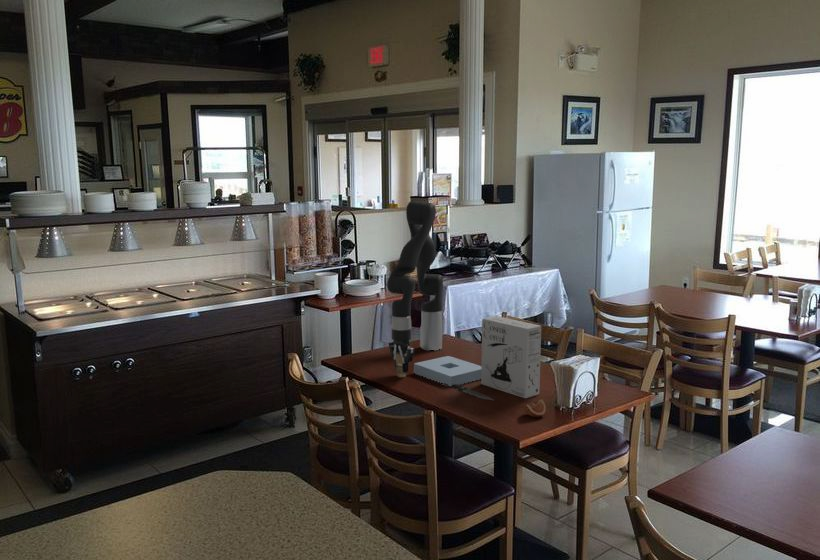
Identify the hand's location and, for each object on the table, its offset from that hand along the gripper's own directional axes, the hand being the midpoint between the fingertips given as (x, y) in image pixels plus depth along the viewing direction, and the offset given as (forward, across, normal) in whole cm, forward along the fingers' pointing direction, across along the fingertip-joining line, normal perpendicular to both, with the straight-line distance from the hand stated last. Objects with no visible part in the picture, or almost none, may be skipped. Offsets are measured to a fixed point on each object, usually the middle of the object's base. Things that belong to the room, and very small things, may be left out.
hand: (401, 370), depth 268 cm
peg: (+2, 0, 0) cm, 2 cm away
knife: (+3, -30, -7) cm, 31 cm away
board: (+2, -11, -15) cm, 19 cm away
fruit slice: (+3, -61, -7) cm, 61 cm away
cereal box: (+3, -37, -21) cm, 43 cm away
